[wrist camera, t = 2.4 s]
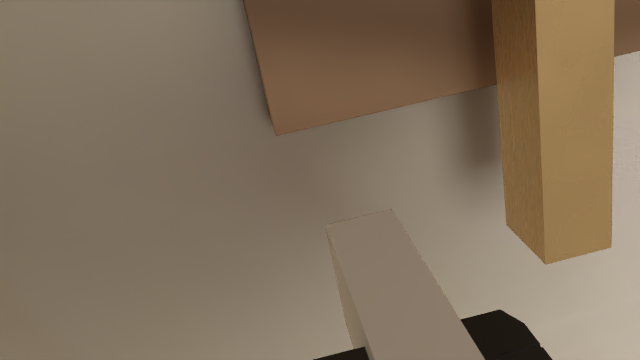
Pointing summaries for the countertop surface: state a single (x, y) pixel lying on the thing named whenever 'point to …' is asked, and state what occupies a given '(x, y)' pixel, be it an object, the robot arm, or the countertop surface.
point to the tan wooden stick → (556, 122)
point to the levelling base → (379, 54)
